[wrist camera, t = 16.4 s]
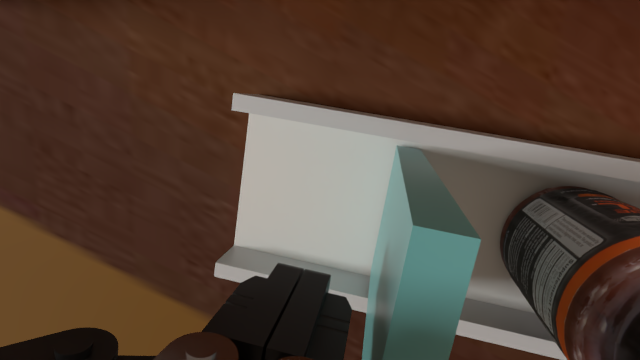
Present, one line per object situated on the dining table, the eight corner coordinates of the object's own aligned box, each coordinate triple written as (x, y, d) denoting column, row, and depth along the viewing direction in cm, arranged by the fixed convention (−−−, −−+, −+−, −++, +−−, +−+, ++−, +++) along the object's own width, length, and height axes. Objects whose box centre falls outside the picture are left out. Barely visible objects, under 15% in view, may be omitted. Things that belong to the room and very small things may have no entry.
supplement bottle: (650, 210, 18) (1038, 372, 7) (586, 312, 20) (828, 572, 9) (529, 163, 19) (724, 250, 8) (475, 266, 20) (576, 458, 9)
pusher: (370, 270, 21) (345, 519, 8) (396, 145, 19) (413, 225, 7) (392, 275, 21) (399, 536, 8) (420, 149, 19) (481, 239, 7)
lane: (239, 251, 24) (190, 299, 18) (257, 94, 21) (209, 91, 16) (621, 338, 21) (712, 430, 15) (688, 167, 19) (825, 197, 13)
